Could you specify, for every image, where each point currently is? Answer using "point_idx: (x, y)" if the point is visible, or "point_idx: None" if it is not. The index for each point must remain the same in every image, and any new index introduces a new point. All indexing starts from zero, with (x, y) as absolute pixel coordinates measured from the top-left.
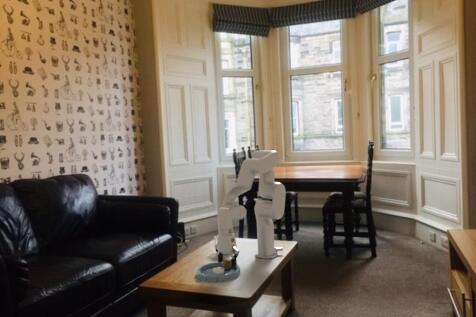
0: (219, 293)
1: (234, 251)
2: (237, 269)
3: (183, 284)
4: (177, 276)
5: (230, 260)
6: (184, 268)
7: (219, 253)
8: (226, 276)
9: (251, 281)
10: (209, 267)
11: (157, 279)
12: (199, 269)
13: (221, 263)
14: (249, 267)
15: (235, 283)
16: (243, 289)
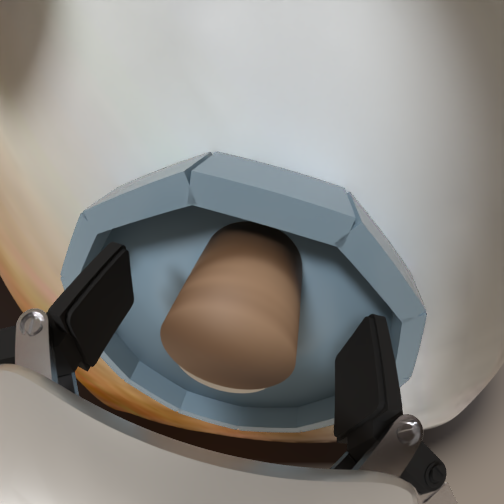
0: None
1: (361, 499)
2: (405, 348)
3: (179, 413)
4: None
5: (293, 366)
6: (29, 287)
7: (74, 384)
8: None
9: (482, 349)
10: None
11: (83, 379)
12: (127, 376)
13: (119, 222)
14: (446, 80)
15: (402, 390)
16: (440, 405)
